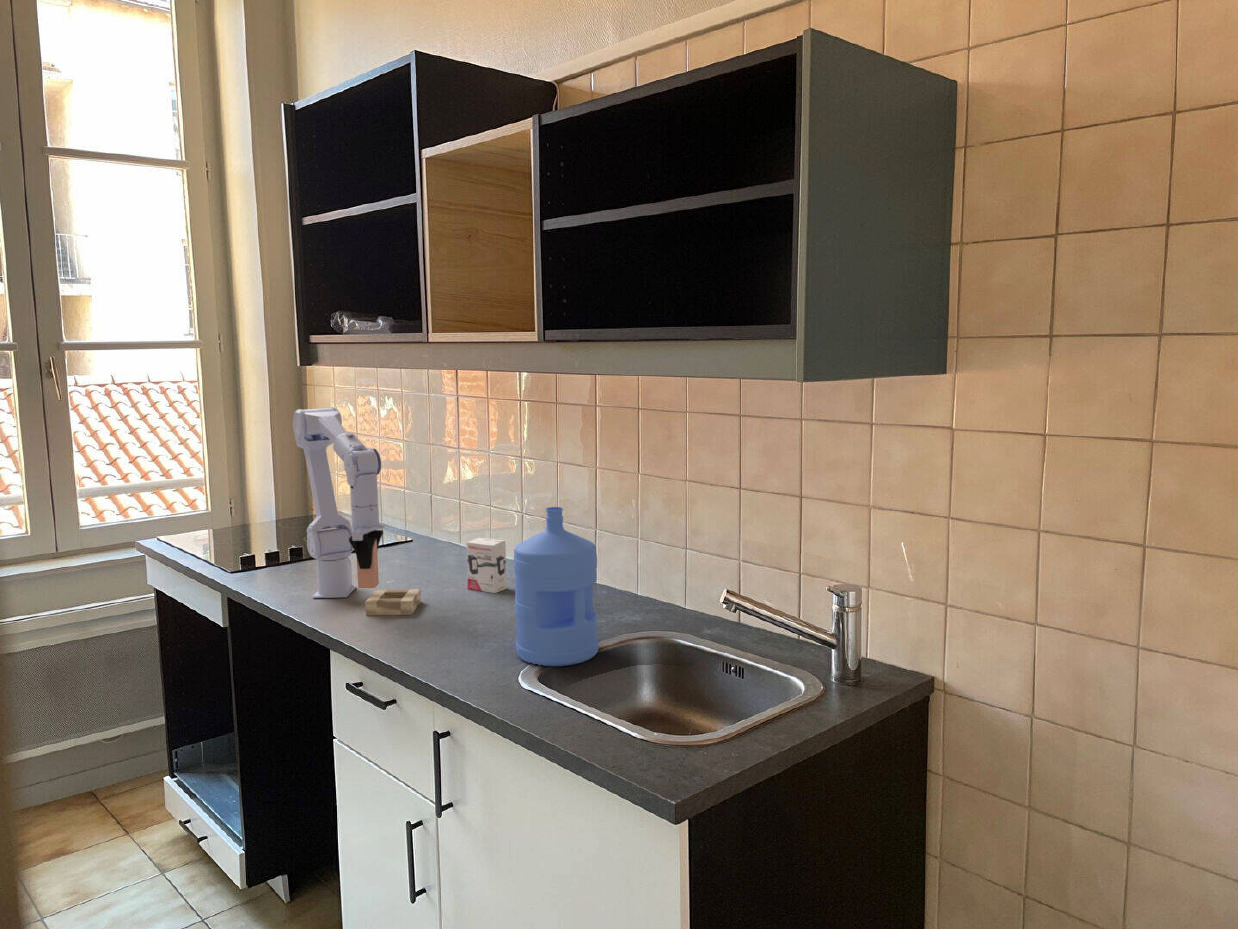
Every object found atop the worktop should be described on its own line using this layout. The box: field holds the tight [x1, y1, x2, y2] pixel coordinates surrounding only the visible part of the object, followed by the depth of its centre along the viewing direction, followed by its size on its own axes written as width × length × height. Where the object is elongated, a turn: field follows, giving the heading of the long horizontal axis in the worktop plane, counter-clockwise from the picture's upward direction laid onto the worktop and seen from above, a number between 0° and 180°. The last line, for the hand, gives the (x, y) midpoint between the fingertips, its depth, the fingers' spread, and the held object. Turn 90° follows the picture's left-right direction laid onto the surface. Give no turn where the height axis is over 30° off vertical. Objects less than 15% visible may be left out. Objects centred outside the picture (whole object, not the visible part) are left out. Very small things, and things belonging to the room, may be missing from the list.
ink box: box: [466, 537, 508, 594], centre depth 221 cm, size 8×5×12 cm, turn 60°
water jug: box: [513, 506, 600, 667], centre depth 174 cm, size 16×16×28 cm
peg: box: [356, 539, 380, 589], centre depth 203 cm, size 4×4×10 cm
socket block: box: [364, 588, 422, 616], centre depth 207 cm, size 10×10×3 cm
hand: (367, 566), depth 203 cm, fingers closed on peg, 4 cm apart
